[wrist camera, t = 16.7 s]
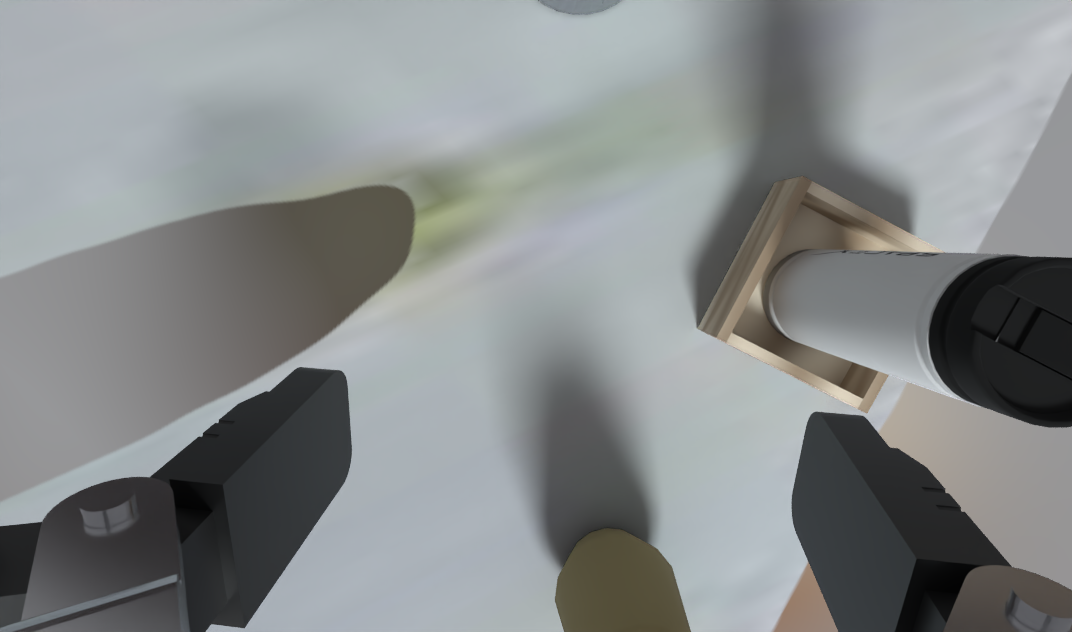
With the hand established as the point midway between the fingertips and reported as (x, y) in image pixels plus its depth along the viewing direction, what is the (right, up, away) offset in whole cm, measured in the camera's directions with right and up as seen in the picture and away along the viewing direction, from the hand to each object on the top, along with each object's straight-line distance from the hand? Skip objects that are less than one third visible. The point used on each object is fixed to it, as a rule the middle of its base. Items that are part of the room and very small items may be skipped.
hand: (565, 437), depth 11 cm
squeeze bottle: (+5, -16, +34) cm, 38 cm away
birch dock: (+18, +4, +32) cm, 37 cm away
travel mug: (+18, +3, +31) cm, 36 cm away
